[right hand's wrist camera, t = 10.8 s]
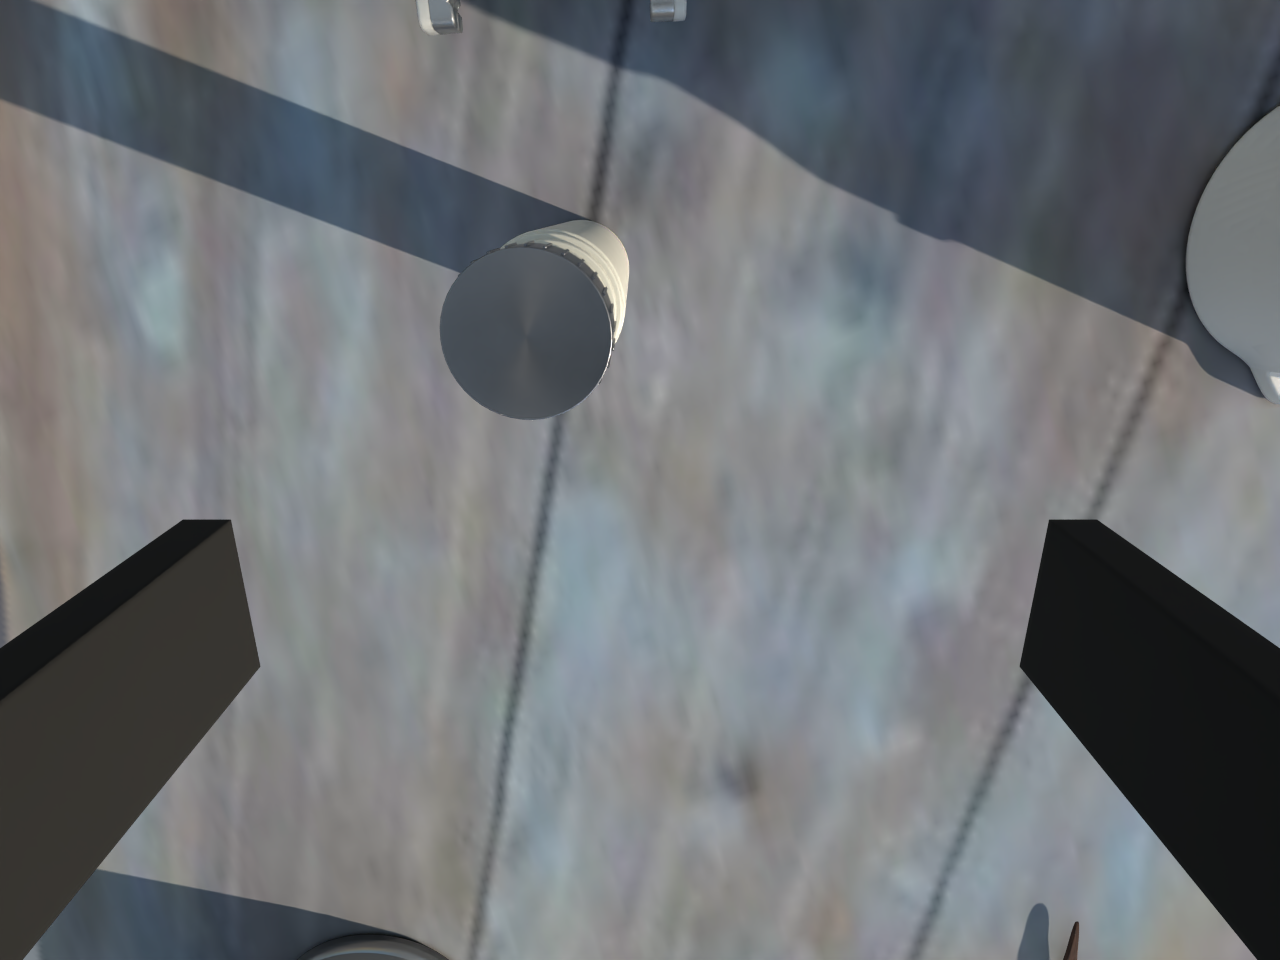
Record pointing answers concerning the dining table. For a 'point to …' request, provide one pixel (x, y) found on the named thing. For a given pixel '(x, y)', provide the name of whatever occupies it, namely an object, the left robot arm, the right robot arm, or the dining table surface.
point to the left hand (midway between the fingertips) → (554, 25)
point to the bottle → (591, 256)
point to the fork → (1073, 944)
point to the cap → (528, 330)
